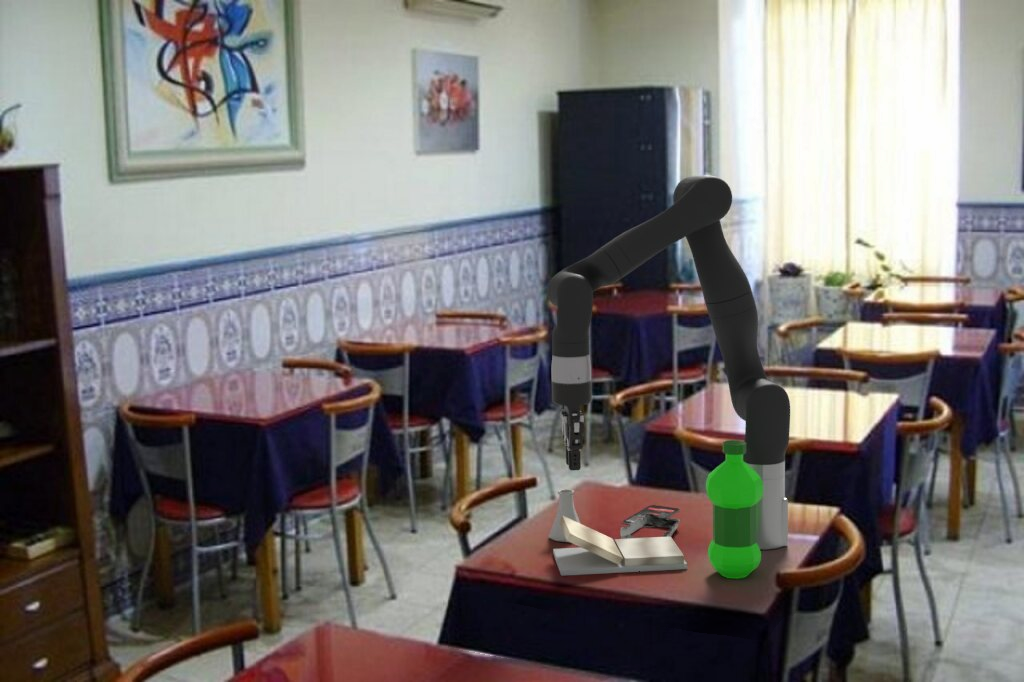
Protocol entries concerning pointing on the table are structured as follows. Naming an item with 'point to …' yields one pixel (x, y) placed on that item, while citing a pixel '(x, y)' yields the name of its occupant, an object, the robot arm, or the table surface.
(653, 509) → the smartphone
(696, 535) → the table surface
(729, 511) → the plastic bottle
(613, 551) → the cream wavy square sheet
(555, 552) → the underlay board
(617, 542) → the laid plank
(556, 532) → the flask
